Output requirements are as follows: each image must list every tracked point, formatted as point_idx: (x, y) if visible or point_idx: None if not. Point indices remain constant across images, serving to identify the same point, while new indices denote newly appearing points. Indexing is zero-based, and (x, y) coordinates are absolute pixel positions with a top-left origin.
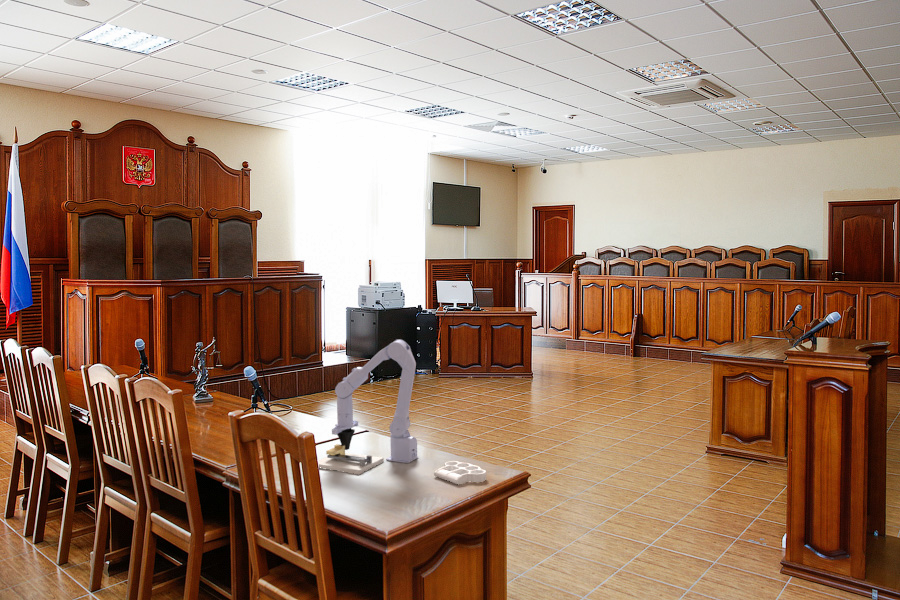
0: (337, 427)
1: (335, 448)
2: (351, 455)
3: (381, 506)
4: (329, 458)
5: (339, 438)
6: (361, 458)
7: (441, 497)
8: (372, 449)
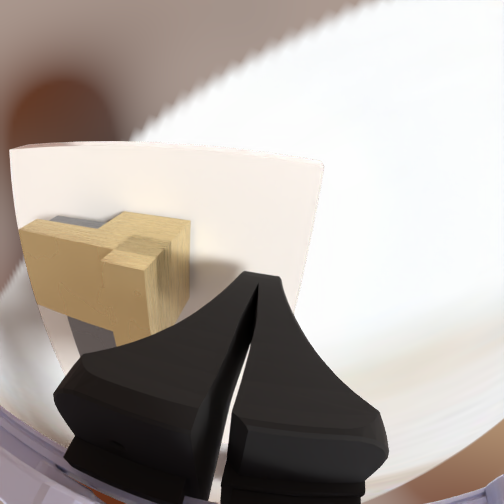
0: (13, 478)
1: (94, 274)
2: None
3: (21, 414)
4: (108, 195)
5: (164, 334)
6: None
7: None
8: (483, 331)
